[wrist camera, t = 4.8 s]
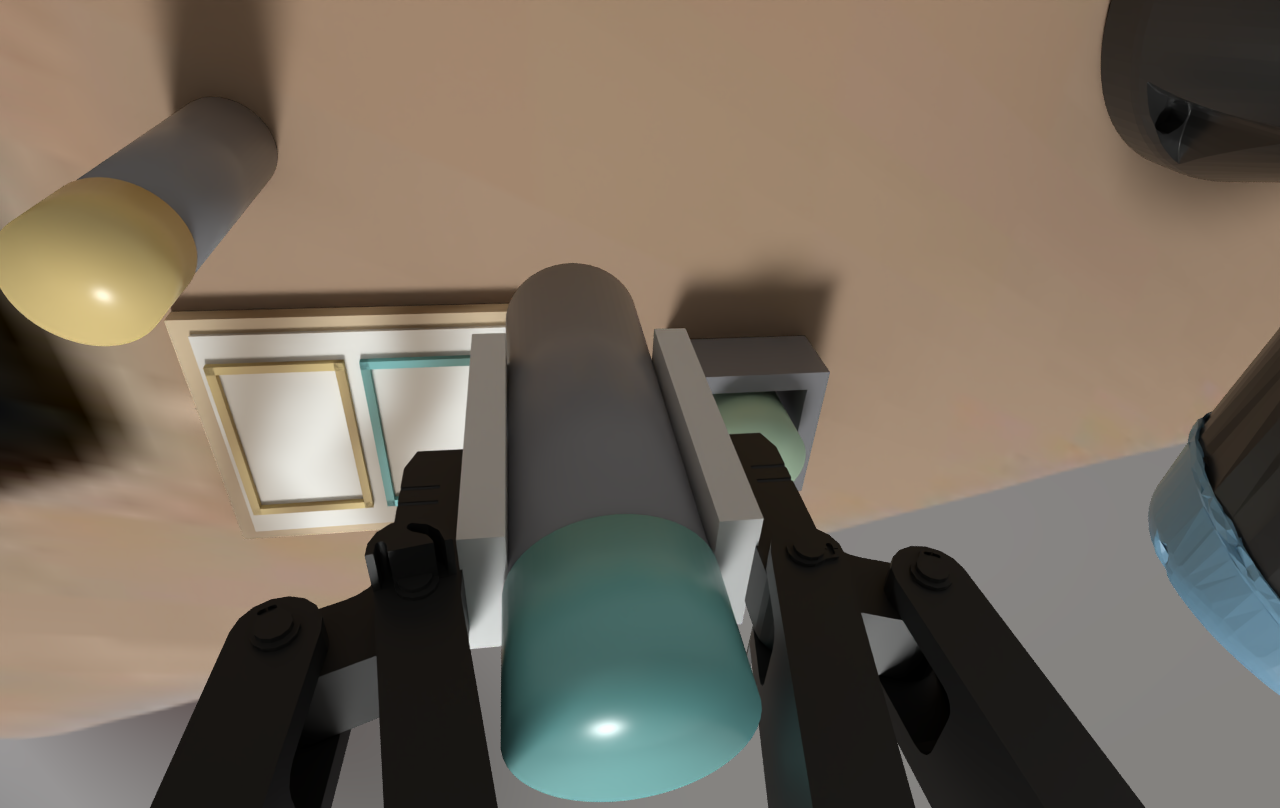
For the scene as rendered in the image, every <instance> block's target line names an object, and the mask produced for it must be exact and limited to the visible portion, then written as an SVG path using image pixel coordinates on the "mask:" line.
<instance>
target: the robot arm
mask: <svg viewBox="0 0 1280 808" xmlns="http://www.w3.org/2000/svg"><path fill="white" fill-rule="evenodd" d="M1101 81H1102V89H1103V95H1104V100H1105V105H1106V108H1107V111H1108V114H1109V116H1110V119H1111V121H1112V123H1113V125H1114V127H1115V129H1116V130H1117V132H1118V134H1119V135H1120V136H1121V138H1122V139H1123V140H1124V141H1125V142H1126V144H1127V145H1128V146H1129V147H1130V148H1132V149H1133V150H1134V151H1135V152H1136V153H1138V154H1139V155H1141V156H1142V157H1144V158H1146V159H1148V160H1150V161H1152V162H1155V163H1157V164H1160V165H1162V166H1164V167H1167V168H1169V169H1172V170H1174V171H1177V172H1179V173H1182V174H1184V175H1187V176H1190V177H1194V178H1198V179H1204V180H1210V181H1219V182H1280V0H1112V1H1111V5H1110V8H1109V12H1108V16H1107V21H1106V25H1105V31H1104V37H1103V43H1102V54H1101ZM652 363H653V366H654V369H655V373H656V376H657V379H658V382H659V385H660V389H661V392H662V395H663V398H664V401H665V405H666V408H667V411H668V414H669V418H670V421H671V424H672V427H673V430H674V434H675V437H676V440H677V443H678V446H679V450H680V453H681V456H682V459H683V463H684V466H685V469H686V472H687V475H688V479H689V482H690V485H691V488H692V492H693V495H694V498H695V501H696V504H697V508H698V511H699V514H700V517H701V520H702V524H703V527H704V530H705V533H706V537H707V540H708V543H709V546H710V548H711V550H712V551H713V553H714V555H715V557H716V559H717V562H718V565H719V568H720V572H721V575H722V578H723V581H724V584H725V587H726V591H727V594H728V597H729V600H730V603H731V606H732V610H733V613H734V616H735V619H736V622H737V624H742V621H743V616H744V611H745V606H747V609H748V612H749V615H750V618H751V621H752V624H753V627H752V631H751V636H750V640H749V645H748V649H747V657H748V660H749V663H750V667H751V663H752V670H753V676H754V679H755V682H756V686H757V689H758V692H759V695H760V698H761V706H762V712H761V719H760V722H759V730H760V739H761V748H762V757H763V765H764V774H765V782H766V791H767V800H768V808H915V805H914V801H913V798H912V794H911V790H910V787H909V783H908V780H907V776H906V773H905V769H904V765H903V762H902V758H901V754H900V751H899V747H898V745H899V746H900V748H901V750H902V752H903V754H904V756H905V758H906V760H907V762H908V764H909V765H910V767H911V769H912V771H913V773H914V775H915V777H916V779H917V781H918V783H919V785H920V786H921V788H922V790H923V792H924V794H925V796H926V798H927V800H928V802H929V803H930V805H931V807H932V808H1145V807H1144V805H1143V804H1142V803H1141V802H1140V800H1139V799H1138V797H1137V796H1136V795H1135V793H1134V792H1133V791H1132V790H1131V788H1130V787H1129V785H1128V784H1127V783H1126V782H1125V780H1124V779H1123V778H1122V776H1121V775H1120V774H1119V772H1118V771H1117V770H1116V768H1115V767H1114V766H1113V764H1112V763H1111V762H1110V761H1109V759H1108V758H1107V756H1106V755H1105V754H1104V753H1103V751H1102V750H1101V749H1100V747H1099V746H1098V745H1097V743H1096V742H1095V741H1094V739H1093V738H1092V737H1091V735H1090V734H1089V733H1088V732H1087V730H1086V729H1085V728H1084V726H1083V725H1082V724H1081V722H1080V721H1079V720H1078V719H1077V717H1076V716H1075V715H1074V713H1073V712H1072V711H1071V709H1070V708H1069V706H1068V705H1067V704H1066V702H1065V701H1064V700H1063V699H1062V697H1061V696H1060V695H1059V693H1058V692H1057V691H1056V689H1055V688H1054V687H1053V685H1052V684H1051V683H1050V681H1049V680H1048V679H1047V677H1046V676H1045V675H1044V674H1043V672H1042V671H1041V670H1040V668H1039V667H1038V666H1037V664H1036V663H1035V662H1034V660H1033V659H1032V658H1031V656H1030V655H1029V654H1028V652H1027V651H1026V650H1025V648H1024V647H1023V646H1022V645H1021V643H1020V642H1019V641H1018V639H1017V638H1016V637H1015V636H1014V634H1013V633H1012V631H1011V630H1010V629H1009V627H1008V626H1007V625H1006V623H1005V622H1004V621H1003V619H1002V618H1001V617H1000V616H999V614H998V613H997V612H996V610H995V609H994V608H993V606H992V605H991V604H990V602H989V601H988V600H987V598H986V597H985V596H984V594H983V593H982V592H981V590H980V589H979V588H978V586H977V585H976V584H975V583H974V581H973V580H972V579H971V577H970V576H969V575H968V573H967V572H966V571H965V570H964V568H963V567H962V566H960V564H959V563H957V562H956V561H955V560H954V559H953V558H951V557H950V556H948V555H946V554H944V553H943V552H941V551H938V550H935V549H932V548H928V547H922V546H910V547H907V548H904V549H901V550H899V551H898V552H897V553H896V555H894V556H893V558H892V561H891V563H888V562H883V561H877V560H871V559H866V558H861V557H857V556H853V555H849V554H847V553H845V552H843V550H842V548H841V546H840V544H839V543H838V542H837V541H835V540H834V539H833V538H832V537H831V536H830V535H828V534H826V533H824V532H822V531H820V530H818V529H816V527H815V525H814V523H813V521H812V518H811V516H810V514H809V512H808V510H807V508H806V506H805V504H804V502H803V500H802V498H801V496H800V494H799V492H798V490H797V488H796V486H795V484H794V482H793V481H792V480H791V475H790V473H789V471H788V469H787V467H785V463H784V461H783V459H782V457H781V455H780V453H779V451H778V449H777V447H776V446H775V445H774V444H773V443H771V442H770V441H769V440H768V439H767V438H766V437H765V436H763V435H762V434H761V433H742V434H729V433H728V431H727V428H726V426H725V423H724V421H723V419H722V416H721V414H720V411H719V409H718V406H717V404H716V402H715V399H714V397H713V394H712V392H711V389H710V387H709V385H708V382H707V380H706V377H705V375H704V372H703V370H702V368H701V365H700V363H699V360H698V358H697V355H696V353H695V351H694V348H693V346H692V343H691V341H690V338H689V336H688V334H687V331H686V329H685V328H676V329H654V341H653V354H652ZM400 488H401V491H400V492H399V498H398V506H397V509H396V515H395V520H394V523H390V524H389V525H387V526H386V527H384V528H383V529H381V530H379V531H378V532H376V534H375V535H374V536H373V537H372V539H371V540H370V541H369V542H368V544H367V548H366V552H365V559H366V563H367V568H368V572H369V576H370V581H371V586H370V587H369V588H368V589H366V590H364V591H363V592H361V593H360V594H358V595H356V596H354V597H351V598H349V599H347V600H344V601H341V602H338V603H335V604H332V605H329V606H326V607H323V608H320V609H318V607H317V605H315V604H314V603H312V602H310V601H308V600H307V599H305V598H298V597H290V596H288V597H282V598H277V599H271V600H269V601H267V602H264V603H262V604H260V605H258V606H255V607H253V608H252V609H251V610H250V611H248V612H247V613H246V614H244V615H243V616H242V617H241V618H239V619H238V621H237V622H236V624H235V625H234V627H233V628H232V629H231V631H230V632H229V634H228V637H227V639H226V641H225V643H224V645H223V648H222V650H221V652H220V654H219V656H218V659H217V661H216V663H215V665H214V667H213V670H212V672H211V674H210V676H209V679H208V681H207V683H206V685H205V687H204V690H203V692H202V694H201V696H200V698H199V701H198V703H197V705H196V707H195V710H194V712H193V714H192V716H191V718H190V721H189V723H188V725H187V727H186V729H185V732H184V734H183V736H182V738H181V741H180V743H179V745H178V747H177V749H176V751H175V754H174V756H173V758H172V760H171V762H170V765H169V767H168V769H167V771H166V773H165V776H164V778H163V780H162V782H161V785H160V787H159V789H158V791H157V793H156V796H155V798H154V800H153V802H152V804H151V807H150V808H331V806H332V802H333V799H334V795H335V791H336V787H337V783H338V779H339V775H340V771H341V767H342V763H343V759H344V755H345V751H346V747H347V743H348V740H349V736H350V732H351V729H352V728H354V727H357V726H359V725H362V724H364V723H367V722H369V721H371V720H373V719H377V718H380V739H381V759H382V779H383V798H384V808H498V806H497V801H496V795H495V789H494V783H493V778H492V772H491V766H490V760H489V755H488V749H487V743H486V737H485V731H484V726H483V720H482V714H481V708H480V702H479V697H478V691H477V685H476V679H475V674H474V668H473V662H472V656H471V650H470V649H474V648H486V647H497V646H501V641H502V591H503V586H504V583H505V580H506V578H507V574H508V441H507V351H506V334H505V333H487V334H472V340H471V353H470V366H469V379H468V392H467V404H466V417H465V430H464V443H463V449H454V450H434V451H417V453H416V454H415V455H414V456H413V458H412V459H411V460H410V461H409V463H408V464H407V465H406V466H405V468H404V470H403V476H402V481H401V487H400ZM1148 522H1149V532H1150V536H1151V540H1152V542H1153V545H1154V548H1155V552H1156V554H1157V556H1158V558H1159V559H1160V561H1161V562H1162V564H1163V565H1164V567H1165V569H1166V570H1167V576H1168V578H1169V580H1170V582H1171V584H1172V585H1173V587H1174V588H1175V590H1176V591H1177V593H1178V594H1179V596H1180V597H1181V598H1182V600H1183V601H1184V602H1185V604H1186V605H1187V606H1188V608H1189V609H1190V610H1191V611H1192V613H1193V614H1194V615H1195V616H1196V618H1197V619H1198V620H1199V621H1200V622H1201V623H1202V624H1203V626H1204V627H1205V628H1206V629H1207V630H1208V631H1209V632H1210V633H1211V635H1212V636H1213V637H1214V638H1215V639H1216V640H1217V641H1218V642H1219V643H1220V644H1221V645H1222V646H1223V647H1224V648H1225V649H1226V650H1227V651H1228V652H1229V653H1230V654H1232V655H1233V656H1234V657H1235V658H1236V659H1237V660H1238V661H1239V662H1240V663H1241V664H1242V665H1244V666H1245V667H1246V668H1247V669H1248V670H1249V671H1250V672H1251V673H1253V674H1254V675H1255V676H1256V677H1257V678H1258V679H1259V680H1261V681H1262V682H1263V683H1264V684H1265V685H1267V686H1268V687H1269V688H1271V689H1272V690H1273V691H1274V692H1276V693H1277V694H1278V695H1280V328H1279V329H1278V331H1277V332H1276V333H1275V334H1274V336H1273V337H1272V338H1271V339H1270V341H1269V342H1268V343H1267V344H1266V346H1265V347H1264V348H1263V349H1262V351H1261V352H1260V353H1259V354H1258V356H1257V357H1256V358H1255V359H1254V360H1253V362H1252V363H1251V364H1250V365H1249V367H1248V368H1247V369H1246V370H1245V372H1244V373H1243V374H1242V375H1241V377H1240V378H1239V379H1238V380H1237V382H1236V383H1235V384H1234V385H1233V387H1232V388H1231V389H1230V390H1229V392H1228V393H1227V394H1226V395H1225V397H1224V398H1223V399H1222V400H1221V401H1220V403H1219V404H1218V405H1217V406H1216V408H1215V409H1214V410H1213V411H1212V412H1210V413H1207V414H1206V415H1205V416H1204V417H1203V418H1201V419H1198V420H1197V422H1196V423H1195V424H1194V425H1193V427H1192V429H1191V431H1190V433H1189V439H1188V443H1187V445H1186V446H1185V448H1184V449H1183V450H1182V452H1181V453H1180V455H1179V456H1178V458H1177V459H1176V460H1175V462H1174V463H1173V465H1172V466H1171V467H1170V469H1169V470H1168V472H1167V473H1166V475H1165V476H1164V477H1163V479H1162V480H1161V481H1160V483H1159V484H1158V486H1157V488H1156V490H1155V491H1154V493H1153V496H1152V498H1151V502H1150V506H1149V513H1148ZM897 743H898V744H897Z"/></svg>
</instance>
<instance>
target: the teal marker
mask: <svg viewBox="0 0 1280 808" xmlns="http://www.w3.org/2000/svg"><path fill="white" fill-rule="evenodd" d="M506 351H507V441H508V574H507V578H506V580H505V583H504V586H503V591H502V641H501V752H502V756H503V759H504V761H505V763H506V765H507V767H508V768H509V770H510V771H511V772H512V773H513V775H515V776H516V777H517V778H518V779H519V780H520V781H522V782H523V783H525V784H526V785H528V786H530V787H531V788H533V789H536V790H538V791H540V792H542V793H546V794H548V795H552V796H555V797H559V798H564V799H569V800H577V801H588V802H589V801H590V802H611V801H612V802H613V801H623V800H632V799H639V798H645V797H649V796H653V795H658V794H661V793H665V792H668V791H671V790H675V789H677V788H680V787H683V786H685V785H688V784H690V783H692V782H695V781H697V780H699V779H701V778H703V777H705V776H707V775H709V774H710V773H712V772H714V771H716V770H717V769H719V768H720V767H722V766H723V765H725V764H726V763H727V762H729V761H730V760H731V759H732V758H734V757H735V756H736V755H737V754H738V753H739V752H740V751H741V750H742V749H743V748H744V747H745V746H746V745H747V743H748V742H749V741H750V739H751V738H752V736H753V735H754V733H755V731H756V729H757V727H758V724H759V722H760V719H761V712H762V706H761V698H760V695H759V692H758V689H757V686H756V682H755V679H754V676H753V673H752V670H751V667H750V663H749V660H748V657H747V654H746V651H745V648H744V644H743V641H742V638H741V635H740V632H739V629H738V626H737V622H736V619H735V616H734V613H733V610H732V606H731V603H730V600H729V597H728V594H727V591H726V587H725V584H724V581H723V578H722V575H721V572H720V568H719V565H718V562H717V559H716V557H715V555H714V553H713V551H712V550H711V548H710V546H709V543H708V540H707V537H706V533H705V530H704V527H703V524H702V520H701V517H700V514H699V511H698V508H697V504H696V501H695V498H694V495H693V492H692V488H691V485H690V482H689V479H688V475H687V472H686V469H685V466H684V463H683V459H682V456H681V453H680V450H679V446H678V443H677V440H676V437H675V434H674V430H673V427H672V424H671V421H670V418H669V414H668V411H667V408H666V405H665V401H664V398H663V395H662V392H661V389H660V385H659V382H658V379H657V376H656V373H655V369H654V366H653V363H652V360H651V356H650V353H649V350H648V347H647V344H646V340H645V337H644V334H643V331H642V327H641V324H640V321H639V318H638V315H637V311H636V308H635V305H634V302H633V299H632V297H631V295H630V293H629V292H628V290H627V289H626V288H625V286H624V285H623V284H622V283H621V282H620V281H619V280H618V279H617V278H615V277H614V276H613V275H611V274H610V273H608V272H606V271H604V270H602V269H600V268H597V267H594V266H591V265H586V264H578V263H568V264H560V265H555V266H551V267H548V268H545V269H543V270H541V271H539V272H537V273H535V274H534V275H532V276H531V277H529V278H528V279H527V280H526V281H525V282H523V284H522V285H521V286H520V287H519V288H518V289H517V291H516V292H515V293H514V295H513V297H512V299H511V301H510V303H509V306H508V309H507V313H506Z"/></svg>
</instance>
